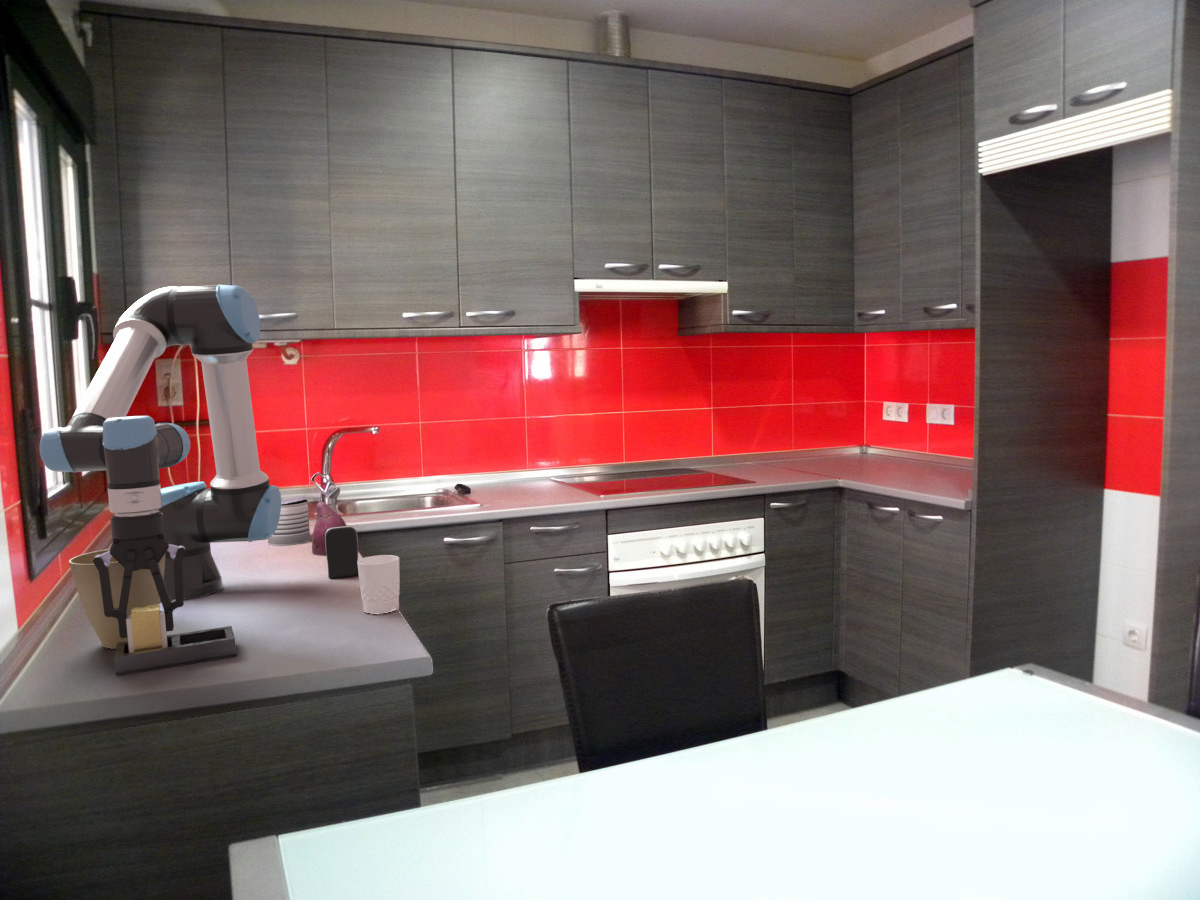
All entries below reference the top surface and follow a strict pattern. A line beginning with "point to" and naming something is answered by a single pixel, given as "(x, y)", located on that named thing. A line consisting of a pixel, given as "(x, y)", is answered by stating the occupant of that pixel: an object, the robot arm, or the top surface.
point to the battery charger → (341, 551)
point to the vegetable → (324, 526)
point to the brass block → (146, 627)
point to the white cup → (379, 583)
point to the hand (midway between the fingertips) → (149, 653)
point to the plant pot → (91, 594)
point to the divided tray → (178, 651)
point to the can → (292, 523)
